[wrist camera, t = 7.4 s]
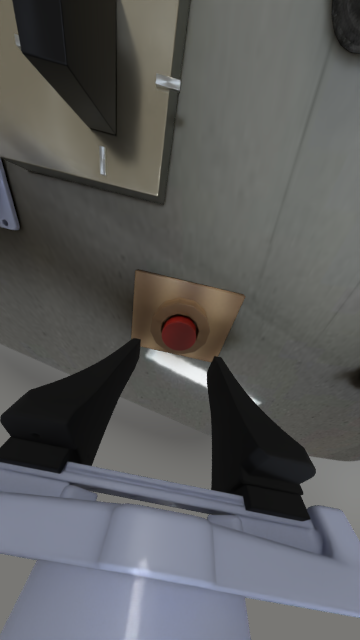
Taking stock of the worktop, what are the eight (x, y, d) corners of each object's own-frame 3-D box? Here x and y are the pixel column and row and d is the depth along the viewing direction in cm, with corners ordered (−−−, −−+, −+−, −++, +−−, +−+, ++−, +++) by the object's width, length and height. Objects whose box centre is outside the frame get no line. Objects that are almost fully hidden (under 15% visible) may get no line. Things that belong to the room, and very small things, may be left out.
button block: (132, 341, 20) (125, 353, 18) (137, 269, 15) (128, 273, 13) (214, 359, 20) (216, 373, 18) (243, 294, 16) (251, 302, 14)
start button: (161, 338, 17) (159, 346, 15) (167, 311, 15) (164, 318, 14) (191, 345, 17) (191, 354, 16) (199, 319, 15) (200, 326, 14)
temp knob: (116, 135, 9) (61, 58, 5) (88, 127, 9) (13, 44, 5) (116, -20, 7) (19, -349, 3) (78, -31, 7) (-68, -383, 3)
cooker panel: (29, 170, 12) (-10, 153, 10) (-26, -83, 8) (-125, -231, 5) (170, 206, 13) (165, 198, 10) (203, -14, 8) (207, -124, 6)
